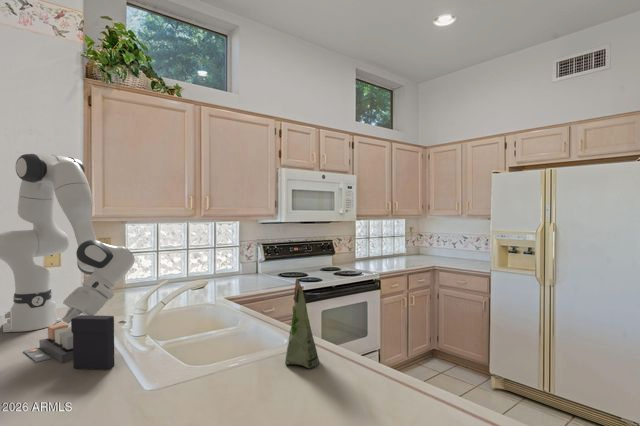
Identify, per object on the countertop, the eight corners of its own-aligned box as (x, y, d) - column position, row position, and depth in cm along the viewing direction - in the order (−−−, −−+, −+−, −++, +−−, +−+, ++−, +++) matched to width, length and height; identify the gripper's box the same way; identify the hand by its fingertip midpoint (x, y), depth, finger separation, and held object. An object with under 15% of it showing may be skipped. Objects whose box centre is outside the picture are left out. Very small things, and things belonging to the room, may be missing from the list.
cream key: (54, 341, 121) (54, 330, 121) (70, 337, 124) (70, 326, 124) (59, 344, 118) (59, 332, 118) (76, 340, 122) (75, 329, 122)
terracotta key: (47, 337, 125) (47, 326, 125) (63, 333, 129) (63, 322, 129) (52, 340, 122) (52, 328, 122) (68, 336, 126) (68, 325, 126)
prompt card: (23, 352, 120) (23, 350, 120) (36, 348, 123) (36, 346, 123) (36, 362, 112) (36, 360, 112) (50, 358, 115) (50, 356, 115)
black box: (116, 364, 110) (115, 315, 110) (106, 371, 105) (106, 319, 105) (82, 363, 111) (81, 314, 111) (71, 369, 106) (70, 318, 106)
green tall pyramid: (302, 374, 102) (301, 285, 102) (273, 363, 110) (272, 280, 109) (327, 362, 110) (326, 279, 110) (298, 352, 118) (298, 275, 118)
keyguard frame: (39, 347, 124) (39, 340, 124) (68, 340, 131) (68, 333, 131) (61, 363, 111) (61, 354, 111) (93, 354, 118) (93, 346, 118)
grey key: (62, 346, 116) (62, 334, 116) (78, 342, 120) (78, 330, 120) (67, 349, 114) (67, 337, 114) (84, 345, 117) (84, 333, 117)
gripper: (78, 278, 133) (46, 311, 126) (101, 285, 121) (68, 322, 113) (92, 289, 137) (61, 321, 129) (116, 296, 124) (84, 332, 117)
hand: (64, 321), depth 121 cm, fingers closed
